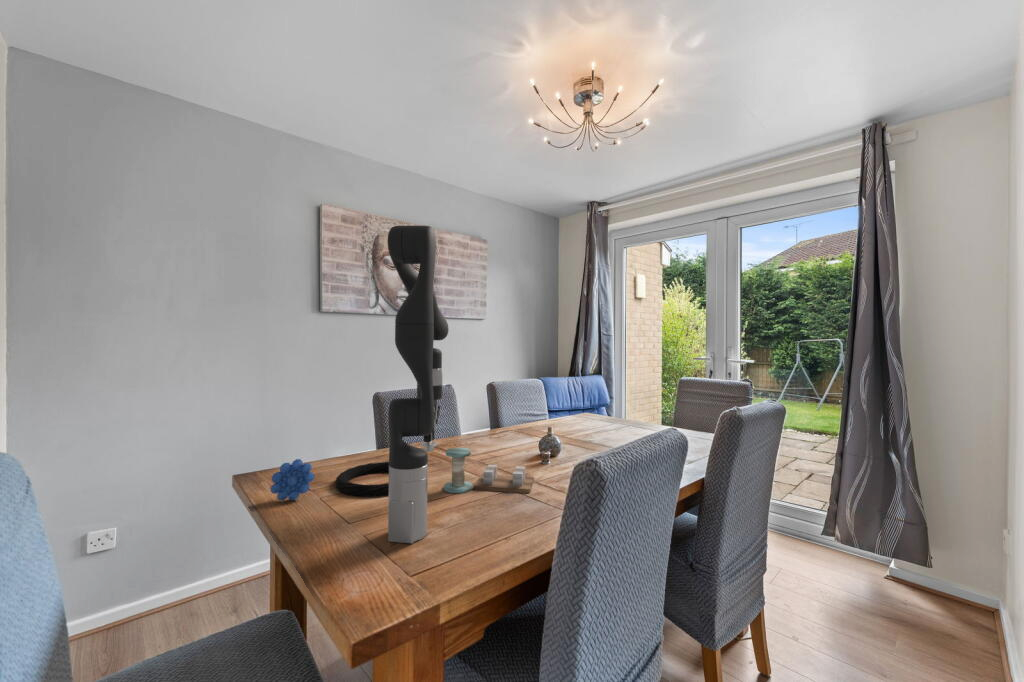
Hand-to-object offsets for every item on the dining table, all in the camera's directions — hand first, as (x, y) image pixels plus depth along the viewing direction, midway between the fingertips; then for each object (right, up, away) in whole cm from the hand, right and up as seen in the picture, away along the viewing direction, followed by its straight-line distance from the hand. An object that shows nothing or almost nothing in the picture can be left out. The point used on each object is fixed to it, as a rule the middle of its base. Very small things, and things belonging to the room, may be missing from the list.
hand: (429, 440), depth 133 cm
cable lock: (-19, -17, +14) cm, 29 cm away
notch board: (+23, -17, +12) cm, 31 cm away
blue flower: (-39, -17, -3) cm, 43 cm away
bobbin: (+8, -17, +8) cm, 20 cm away
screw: (0, -3, 0) cm, 3 cm away
